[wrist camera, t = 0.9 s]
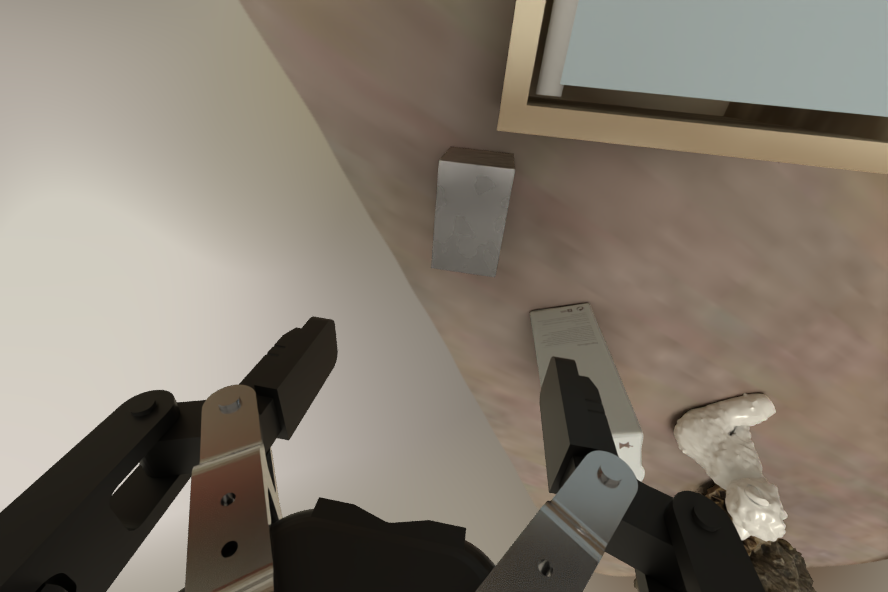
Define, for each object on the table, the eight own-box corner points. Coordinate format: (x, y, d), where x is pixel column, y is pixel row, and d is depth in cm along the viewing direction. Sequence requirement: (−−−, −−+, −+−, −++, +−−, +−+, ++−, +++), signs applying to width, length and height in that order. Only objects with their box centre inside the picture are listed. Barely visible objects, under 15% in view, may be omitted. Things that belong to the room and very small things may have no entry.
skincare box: (528, 309, 35) (541, 437, 22) (593, 300, 33) (646, 432, 21) (541, 372, 39) (557, 511, 26) (599, 366, 37) (647, 511, 24)
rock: (738, 721, 37) (797, 724, 28) (615, 585, 48) (627, 554, 38) (814, 586, 44) (882, 551, 34) (690, 491, 54) (717, 444, 44)
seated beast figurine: (744, 450, 40) (824, 574, 30) (661, 447, 42) (710, 563, 32) (769, 390, 35) (874, 513, 25) (674, 390, 37) (737, 505, 27)
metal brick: (451, 146, 28) (438, 160, 23) (513, 153, 28) (515, 169, 23) (442, 238, 32) (431, 267, 27) (496, 246, 32) (495, 277, 27)
